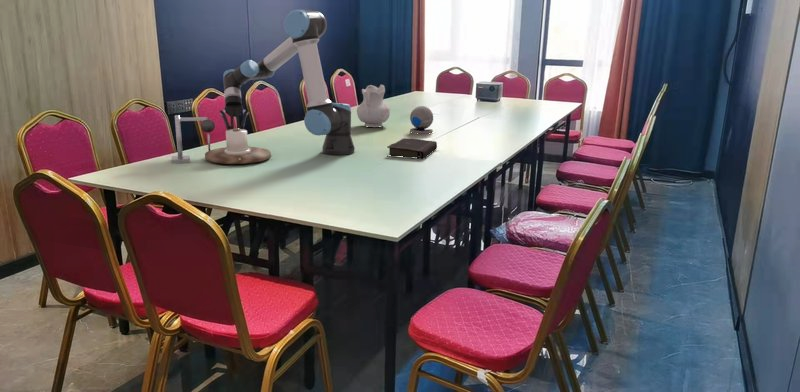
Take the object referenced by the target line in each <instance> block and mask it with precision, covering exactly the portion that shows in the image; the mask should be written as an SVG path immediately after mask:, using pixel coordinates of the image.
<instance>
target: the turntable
mask: <svg viewBox="0 0 800 392" xmlns="http://www.w3.org/2000/svg"><path fill="white" fill-rule="evenodd" d="M226 148H227V146H226V147H220V148H214V149H210V152H209V151H206V152H205V153H204V158H205V160H206V161H207V162H211V163H216V164H224V165H226V164H227V165H243V164H245V163H246V164H252V163H253V164H254V163H259V162H264V161H266V160H269V159H270V158H271V157H272V151H271V150H269V149H266V148H262V147H258V146H257V147H256V146H248V148H250V154H247V155H239V156H233V155H226V154H225V151H224V150H225V149H226Z"/></svg>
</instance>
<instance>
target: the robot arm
mask: <svg viewBox="0 0 800 392" xmlns="http://www.w3.org/2000/svg"><path fill="white" fill-rule="evenodd" d="M327 25H328V24H327V19H326V17H325V16H324V15H323V14H322V13H321V12H320V11H318V10H314V9H312V10H309V9H295V10H294V9H293V10H291V11H289V12H288V14H286V17H285V19H284V22H283V28H284V31H285V33H286V35H287V36H288V38H287V39H285V40H284V41H283V42H282V43H281V44H279V45H278V46H277V47H276V48H275V49H274V50H272V51H271V52H270V53H269V54H267V56H265V57H264V58H263V59H262V60H261V61H259V62H256V61H254V60H252V59H247V60H245V61H244V62H242V63H241V64H240V65H239V66H238V67H237V68H234V69H231V68H230V69H227V70H225V71H224V72H223V75H222V76H223V78H222V82H223V91H224V93H223V94H224V106H225V107H224V109H223V110H222V109H221V110H219V115H220V116H221V118H222V120H223V122H224V125H225V128H226V131H227V130H231V129H233V128H235V126H234V125H235V123H234V117H235V122H236V128H240V129H244V130H245V125H246V120H247V117H248V115H249V109H244V107H243V101H242V89H241V87H242V86H243V85H245V84H246V83H248V82H249V81H252V80H262V79H269V78H272V77H273V76H274V75H275V73H276V71H277V70H278V69H279V68H280V67H282V66H283V65H284V64H285V63H287V62H288V61H289V60H290V59H292V58H293V57H294V56H296V54H297V53H298V57H299V61H300V66H301V71H302V72H301V73H302V75H303V82H304V86H305V91H306V96H307V100H308V103H307V105H306V106H305V107H306V108H305V109H306V113H305V115H304V121H303V122H304V126H305V129H307V131H308V132H309V133H311V135H314V136H318V137H319V136H325V138H324V141H323V144H322V151H321V152H322V153H324V154H325V155H329V156H330V155H333V156H346V155H351V154H354V153H355V151H356V150H355V144H354V141H353V139H352V135H351V134H352V108H351V105H350V104H349V103H340V102H333V101H332V100H330V99H329V98H328V93H327V92H328V91H327V87H326V83H325V78H324V73H323V69H322V68H323V67H322V63H321V58H320V54H319V49H318V43H319V42H320V38H321V37H322V36H323V35H324V34H325V32H326V31H327V27H328V26H327ZM226 114H227V115H226ZM242 114H243V115H242ZM241 115H242V119H241V124H240V116H241ZM227 116H229V119H230V123H229V120H228V118H227Z"/></svg>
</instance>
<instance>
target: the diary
mask: <svg viewBox="0 0 800 392" xmlns="http://www.w3.org/2000/svg"><path fill="white" fill-rule="evenodd" d="M437 144H438V143H437V141H435V140H426V139H421V138H419V139H418V138H409V137H407V138H405V137H403V138H401V139H400V140H398V141H396V142H394V143H391V144H389V145H388V146H387V147H386V148H387V149H389V153H388V155H391V156H403V157H418V156H419V157H418V159H419V158H420V159H421V158H422V159H423V158H424V159H425V158H427V157H428V156H429V154H430V153H431V152H432V151H433V152H434V150H435V149H436V150H437V148H438V145H437ZM436 150H435V151H436ZM433 152H432V153H433ZM432 153H431V154H432ZM431 154H430V155H431ZM427 155H428V156H427ZM422 156H423V157H422ZM426 156H427V157H426Z"/></svg>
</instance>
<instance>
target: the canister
mask: <svg viewBox="0 0 800 392" xmlns="http://www.w3.org/2000/svg"><path fill="white" fill-rule="evenodd" d="M225 138H226V139H225V140H226V141H225V142H226V147H227V148H226V147H225V148H226V149H225V150H224V151H225V154H226V155H233V156H239V155H247V154H250V148H248V147H249V146H248V145H249V144H248V142H249V141H248V130H247V129H245V128H244V129H240V128H237V127H234V128H233V129H231V130H227V129H226V130H225Z"/></svg>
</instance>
